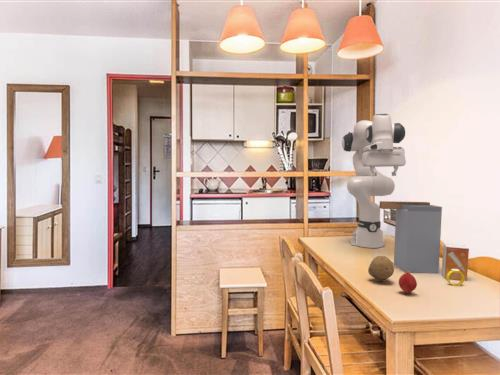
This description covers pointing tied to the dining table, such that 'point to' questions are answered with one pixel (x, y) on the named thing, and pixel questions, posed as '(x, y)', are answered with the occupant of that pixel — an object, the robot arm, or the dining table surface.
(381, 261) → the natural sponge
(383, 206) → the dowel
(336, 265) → the dining table surface
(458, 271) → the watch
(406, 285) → the red rounded lump
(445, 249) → the small box
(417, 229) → the stand
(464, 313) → the dining table surface
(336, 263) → the dining table surface
